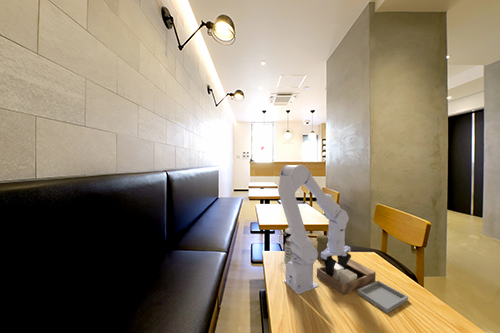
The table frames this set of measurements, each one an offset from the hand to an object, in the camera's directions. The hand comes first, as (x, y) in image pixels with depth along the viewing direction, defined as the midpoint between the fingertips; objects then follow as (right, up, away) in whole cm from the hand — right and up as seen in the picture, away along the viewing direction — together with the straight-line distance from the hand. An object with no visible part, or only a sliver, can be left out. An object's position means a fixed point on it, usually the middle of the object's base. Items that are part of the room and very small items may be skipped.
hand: (335, 273), depth 71 cm
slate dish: (+10, -2, -11) cm, 15 cm away
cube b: (+2, -1, -5) cm, 5 cm away
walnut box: (+3, -2, -1) cm, 4 cm away
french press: (-15, -2, +12) cm, 19 cm away
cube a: (0, -1, 0) cm, 1 cm away
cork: (0, -2, +14) cm, 14 cm away
